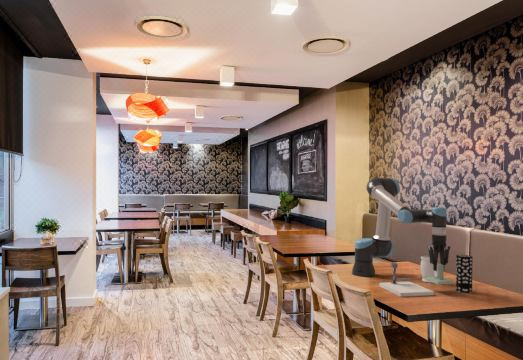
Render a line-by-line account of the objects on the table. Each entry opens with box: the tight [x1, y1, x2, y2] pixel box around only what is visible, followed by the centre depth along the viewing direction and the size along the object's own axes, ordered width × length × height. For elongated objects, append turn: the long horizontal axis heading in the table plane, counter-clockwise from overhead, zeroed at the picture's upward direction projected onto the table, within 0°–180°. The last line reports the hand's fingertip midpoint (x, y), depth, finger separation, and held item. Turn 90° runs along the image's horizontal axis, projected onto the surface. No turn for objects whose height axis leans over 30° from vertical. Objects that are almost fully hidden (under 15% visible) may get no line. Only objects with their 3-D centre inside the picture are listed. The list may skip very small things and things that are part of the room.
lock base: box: [378, 281, 435, 297], centre depth 233 cm, size 23×20×2 cm
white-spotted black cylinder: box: [455, 254, 474, 294], centre depth 234 cm, size 8×8×20 cm
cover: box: [425, 263, 455, 285], centre depth 233 cm, size 12×10×10 cm
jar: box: [419, 255, 439, 284], centre depth 258 cm, size 11×10×15 cm
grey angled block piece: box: [390, 261, 412, 283], centre depth 241 cm, size 10×6×12 cm, turn 83°
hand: (438, 276), depth 233 cm, fingers closed on cover, 2 cm apart
